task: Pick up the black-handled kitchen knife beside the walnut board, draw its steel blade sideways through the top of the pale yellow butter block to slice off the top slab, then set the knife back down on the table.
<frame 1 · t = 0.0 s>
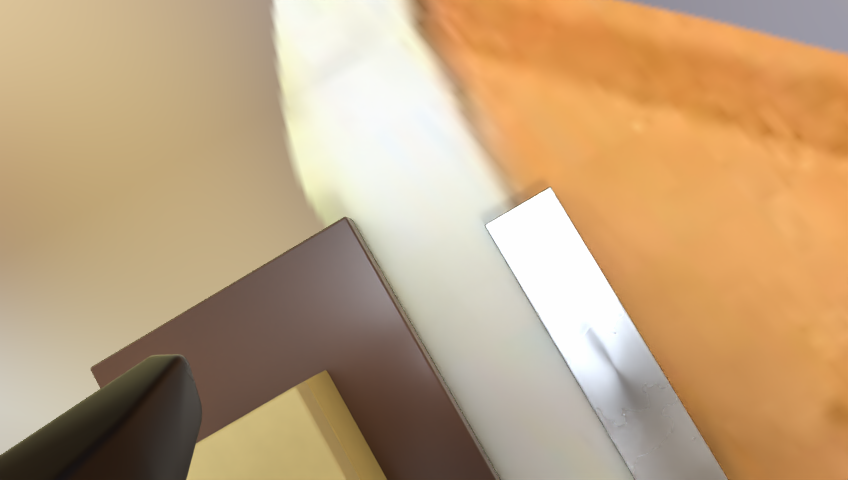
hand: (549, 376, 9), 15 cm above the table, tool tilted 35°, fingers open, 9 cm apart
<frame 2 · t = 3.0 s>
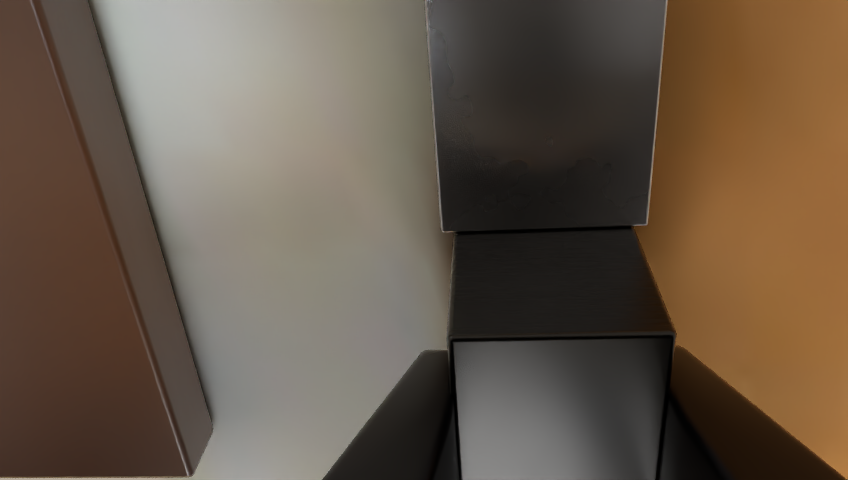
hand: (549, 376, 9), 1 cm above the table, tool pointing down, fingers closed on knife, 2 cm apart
knife: (540, 317, 10), on the table, touching gripper
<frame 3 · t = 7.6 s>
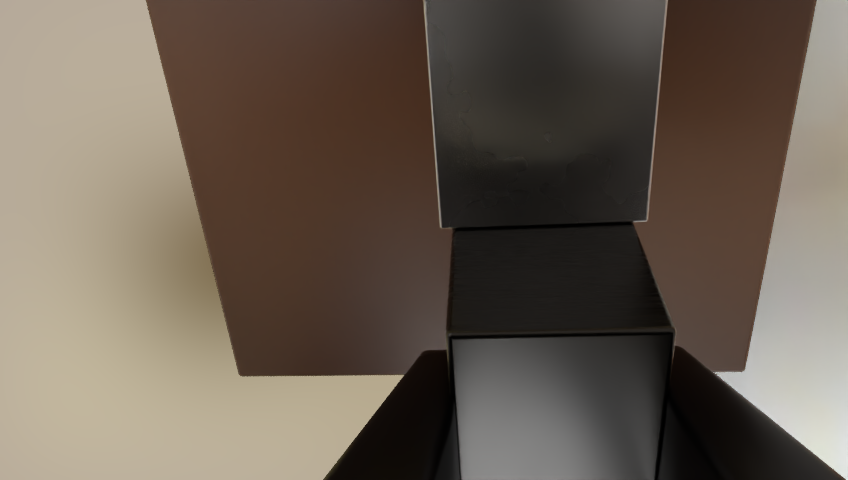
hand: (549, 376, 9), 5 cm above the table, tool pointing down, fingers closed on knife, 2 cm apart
knife: (540, 313, 10), point 4 cm above the table, touching gripper
when the fingers open (1 cm above the table, at t = 12.4 s): knife stays where it is, on the table.
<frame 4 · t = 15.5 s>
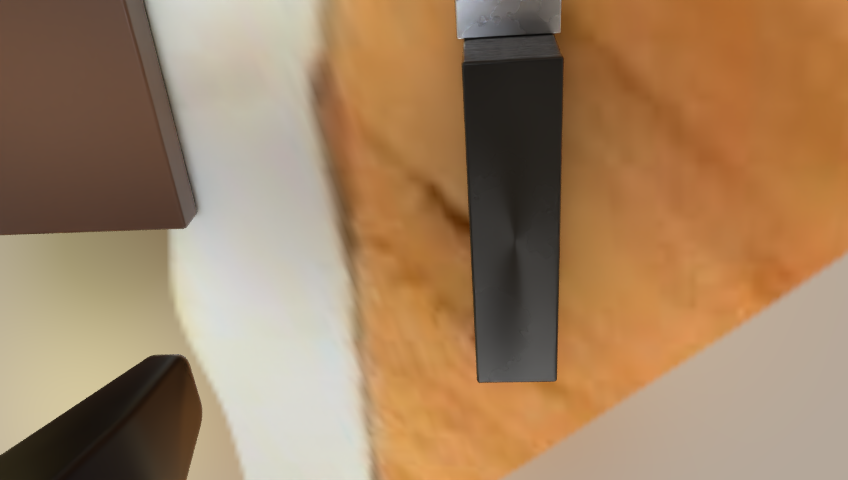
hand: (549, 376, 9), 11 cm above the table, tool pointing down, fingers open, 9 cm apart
knife: (509, 93, 18), on the table
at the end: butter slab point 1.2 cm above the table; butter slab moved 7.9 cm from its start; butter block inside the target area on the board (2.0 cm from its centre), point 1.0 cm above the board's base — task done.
